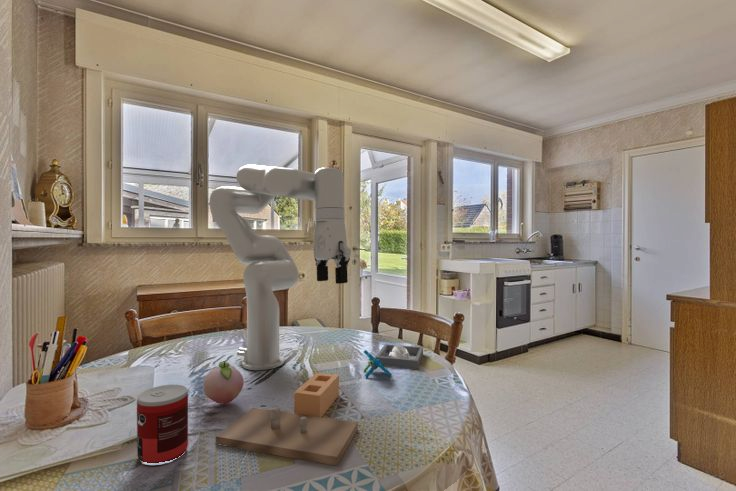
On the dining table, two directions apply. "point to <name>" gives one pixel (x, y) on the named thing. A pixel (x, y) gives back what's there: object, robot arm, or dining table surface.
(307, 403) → the block with square holes
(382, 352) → the frame
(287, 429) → the locating board
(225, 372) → the decorative fruit
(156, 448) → the canned food
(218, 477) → the dining table surface
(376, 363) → the gear
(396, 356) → the whipped cream
